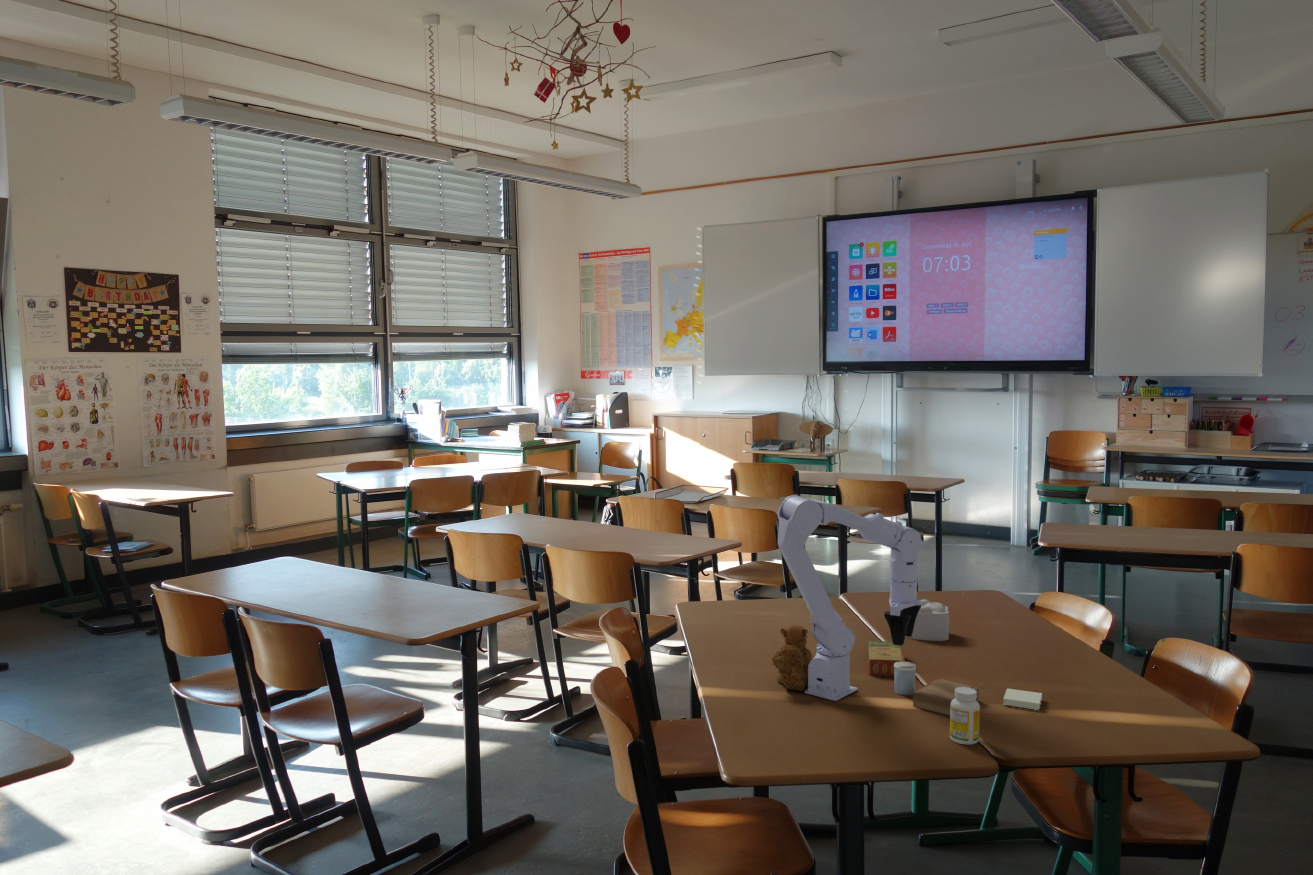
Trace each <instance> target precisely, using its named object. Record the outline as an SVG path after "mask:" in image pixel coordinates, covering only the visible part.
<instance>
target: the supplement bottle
mask: <svg viewBox="0 0 1313 875" xmlns="http://www.w3.org/2000/svg"><path fill="white" fill-rule="evenodd" d="M954 695H955V699H953V700H952V701H951V706H950V715H949V717H950V718H949V738H950V739H951V740H952V742H955V743H956V744H960V745H966V746H967V745H968V746H969V745H975V744H977V743H979V741H980V724H981V723H980V721H981V720H980V718H981V714H980V713H981V706H980V703H979V701H976V698H977V691H976V690H974V689H972V688H968V687H958V688H956V689H955V694H954Z"/></svg>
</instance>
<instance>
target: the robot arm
mask: <svg viewBox="0 0 1313 875" xmlns="http://www.w3.org/2000/svg"><path fill="white" fill-rule="evenodd" d="M776 513H777V518H778V529H777V531H778V532H777V546H778V549H779V551H780V553H781V555H782V557H783V559H784V561H785V564H786V566H787V568H788V570H789V572H790V573H791V575H792V578H793V579H794V582H795V584H796V586H797V588H798V591H799V593H800V595H801V597H802V598H803V600H804V602H805V603H804V604H805V605H806V607H807V609H808V611H809V613H810V617H809V620H810V622H811V625H812V635H813V638H814V639H815V641H816V642H817V644H816V653H815V655H814V657H812V660H811V661H810V663H809V666H808V686H807V689H804V693H805V694H806V695H807V694H808V695H811V696H815V697H817V698H818V697H819V698H823V699H827V700H829V701H834V702H836V701H838V700H841V699H843V698H845V697H847V696H848V695H850V694H853V693H854V692H856V691H858V687H856V686H851V684H850V681H851V679H850V677H851V676H850V675H851V671H850V669H851V664H850V663H851V659H850V658H851V651H852V649H853V648H854V646H855V642H856V636H855V634H854V632H853V630H852V629H851V628H849V627H848V626H847V625H846V624H845V623H844V621H843V619H842V617H841V616H840V615H839V614H838V612H837V611H836V610H835V608H834V605H833V604H832V602H831V600H830V597H829V595H828V593H827V591H826V589H825V587H824V585H823V583H822V581H821V579H820V577H819V574H818V573H817V570H816V568H815V566H814V564H813V562H812V560H811V558H810V555H809V554H808V552H807V549H806V547H805V545H806V543H807V541H808V538H809V537H811V535H812V533H814V531H816V529H817V528H818V527H819V525H826V524H828V523H830V522H834V523H837V524H840V525H843V526H846V527H848V528H852V529H855V530H858V531H859V533H860V536H861V537H862V539H865V540H867V541H870V542H873V543H876V544H879V545H880V546H883V547H887V548H889V549H890V574H889V575H890V577H889V578H890V581H889V598H888V603H889V606H890V607H889V610H886V611H885V612H884V613H883V616H884V619H885V621H886V623H887V625H888V627H889V631H890V637H891V640H892V642H893V644H894V645H901V646H902V647H903V646H904V643H905V639H906V637H905V636H908V637H911V636H912V633H913V629H914V625H915V620H916V617H917V615H918V612H919V610H920V609H921V604H922V601H921V600H922V599H918V598H917V597H918V595H917V592H918V590H917V589H918V586H917V585H918V558H919V552H920V551H921V549H922V548H923V545H924V540H922V537H921V534H920V533H919V531H918V530H916V529H914V528H912V527H910V526H906V525H903V522H901V521H898V520H895V521H892V520H890V519H887V518H884V516H885V515H884V514H882V513H880V512H876V513H875V514H874V513H869V514H867V515H864V516H862V515H861V514H858V513H855V512H852V511H850V510H847V509H845V508H843V507H840V506H837V505H836V504H833V503H830V502H827V501H822V500H818V499H814V498H810V497H806V498H804V497H803V496H800V495H799V494H792V495H789V496H787V497H786V498H784V500H783V501H782V503H781V505H780V506H779V509H778V511H777V512H776Z"/></svg>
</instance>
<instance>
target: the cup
mask: <svg viewBox="0 0 1313 875" xmlns="http://www.w3.org/2000/svg"><path fill="white" fill-rule="evenodd" d="M894 668H895V669H894V676H893V678H894V682H893V688H894V690H893V692H894V693H895V694H897V695H900V696H913V692H915V691H916V669H917V665H916V664H915V663H913V662H909V661H905V662H896V663H894Z"/></svg>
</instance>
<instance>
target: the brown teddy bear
mask: <svg viewBox="0 0 1313 875" xmlns="http://www.w3.org/2000/svg"><path fill="white" fill-rule="evenodd" d="M778 630H779V632H780V633H781V635H782V638H784V643H785V645H783V646H781V648H780V649H779V650H778V651H776V652H775V653H776V654H774V655H773V656H772V657H771V658H770V659H771V662H772V663H771V666H772V665H773V666H774V667H775V668H776V669H777V670H778V671H777V674H776V680H777V682H778V683H780V684H782V685H783V686H785V688H786V689H787V690H788V691H795V692H796V691H797V692H798V691H800V692H803V691H805V690H806V687H808V666H809V663H810V661H811V660H812V659H813V654H812V652H811V650H810V648H809V647H808V646H807V639H809V637H808V634H809V631H810V629H809V628H808V627H804V626H802V625H800V624H796V623H795V624H791V625H788V626H787V627H786V628H784V627H780V628H778Z"/></svg>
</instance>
